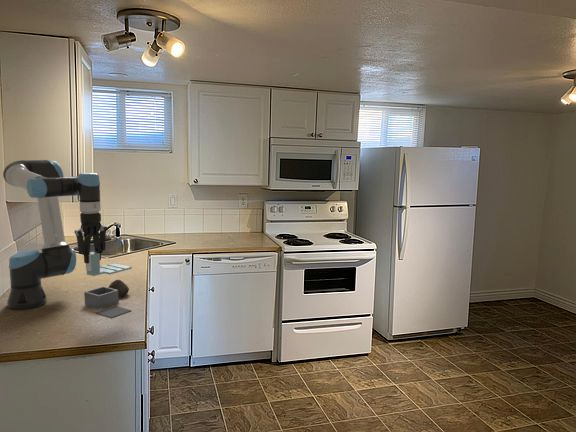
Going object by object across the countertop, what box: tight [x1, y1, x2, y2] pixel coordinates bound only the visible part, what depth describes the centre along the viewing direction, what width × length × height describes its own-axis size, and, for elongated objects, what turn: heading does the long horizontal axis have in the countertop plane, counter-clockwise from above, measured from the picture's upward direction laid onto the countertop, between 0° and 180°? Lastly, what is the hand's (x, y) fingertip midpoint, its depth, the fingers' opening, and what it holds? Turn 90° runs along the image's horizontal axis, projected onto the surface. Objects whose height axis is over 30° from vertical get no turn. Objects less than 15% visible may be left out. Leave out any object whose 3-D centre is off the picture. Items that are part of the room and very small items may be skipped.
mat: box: [95, 305, 132, 319], centre depth 191 cm, size 10×10×1 cm
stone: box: [108, 279, 130, 299], centre depth 213 cm, size 10×8×10 cm
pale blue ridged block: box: [86, 251, 132, 277], centre depth 185 cm, size 11×16×9 cm
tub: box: [84, 286, 120, 310], centre depth 200 cm, size 10×10×6 cm
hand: (93, 269), depth 180 cm, fingers closed on pale blue ridged block, 3 cm apart
